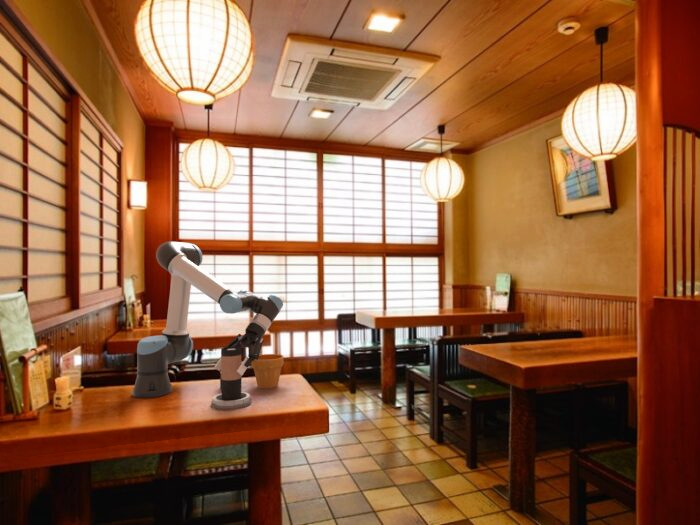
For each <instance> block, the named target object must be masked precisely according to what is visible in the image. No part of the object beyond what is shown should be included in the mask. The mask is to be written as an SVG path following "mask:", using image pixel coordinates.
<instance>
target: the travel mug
mask: <svg viewBox="0 0 700 525" xmlns="http://www.w3.org/2000/svg"><path fill="white" fill-rule="evenodd" d="M224 347H225V346H224ZM224 347H222V348H221V349H220V352H221V353H220V357H221V370H220V372H221V389H220V390H221V392H220V393H222V401H233V400H238V399H241V392H242V376H243V375H242V376H241V375H240V374H239V373H238V372H237V370H238V368H239V367H240V366H241V364H242V348H241V347H239V348H234V347H225V348H224Z"/></svg>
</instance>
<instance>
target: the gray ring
mask: <svg viewBox="0 0 700 525" xmlns="http://www.w3.org/2000/svg"><path fill="white" fill-rule="evenodd" d="M251 404H252V397H251V394H250V393H248V392H246V391H241V399H238V400H233V401H222V392H220V393H217V394H216V395H214V396H213V397H212V400H211V401H210V407H211V408H212V407H213V409H214V408H215V409H214V410H218V409H220V411H229V410H230V409H233V410H238V408H239V409H243V408H247V407H248V406H250V405H251ZM230 411H231V410H230Z"/></svg>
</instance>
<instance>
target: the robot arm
mask: <svg viewBox="0 0 700 525" xmlns="http://www.w3.org/2000/svg"><path fill="white" fill-rule="evenodd" d="M155 259H156V260H157V263H158V264H159V266H160V267H162V268H163V269H164V270H166V271H167V272H169V274H170V275H171V279H170V290H169V296H168V297H169V298H168V308H167V316H166V317H167V318H166V327H165V328H164V329H163V330H162V331H161V335H152V336H146V337H143V338H141V339H140V340H139V341H138V343H137V347H136V348H137V349H136V357H137V358H136V359H137V360H136V363H137V364H136V365H137V366H136V368H137V369H136V370H137V371H136V372H137V373H136V379H135V383H134V386H133V388H132V397H133V398H137V397H138V399H148V398H149V399H151V398H158V397H162V396H166V395H169V394H171V393H172V391H173V385H172V383H171V381H170V377H169V374H168V368H169V367H168V365H169V364H172V363H176V362H181V361H182V360H185V359H186V358H188V357H189V356H190V355H191V353H192V352H193V349H194V340H193V339H192V338H191V336H190V331H189V330H188V329H187V327H188V316H189V306H190V299H191V290H192V287H195V288H196V289H197V290H199V291H200V292H201V293H203V294H204V295H206V296H207V297H208V298H210V299H211V300H212V301H213V302H216V303H217V304H218V305H219V308H220V310H221V311H222V312H223V313H225V314H236V313H242V312H247V311H249V312H252V313H254V314H255V315H254V317H253V318H252V319H251V320H250V322H249V324H248V325H247V326H246V328H245V333H244V334H243V335H242V334H241V333H239V334H237V335H236V336H235V338H233V339H232V340H231V341H230V342H229V343H228V344H226V345H225V346H224V347H223V348H225V347H234V348H239V347H241V349H243V348H248V351H247V352H248V354H247V356H246V357H245V358H244V359H243V361H242V362H241V366H240V367H239V368H238V370H237V372H238V373H239V374H240V375H241V376H243V375H244V373H245V372H246V370H247V369H248V368H249V367H250V365H251V362H252V361H254V360H255V359H256V360H258V359H259V355H261V351H262V346H263V343H264V341H265V339H264V338H263V337H264V335H265V334H266V332H267V331H268V329H269V328H270V327H271V325H272V324H273V322H274V321H275V319H276V317H277V316H278V315H279V314H280V312H281V310H282V308H283V306H284V301H283V300H282V298H280V297H279V296H278V295H276V294H270V295H268V296H267V297H265V296H262V295H259V294H257V293H253V292H252V291H250V290H246V289H241V290H239V291H238V292H235V291H234V290H233V289H231V288H230V287H228V286H227V285H225V284H224V283H222V282H221V281H219V279H217V278H215V277H214V276H213V275H211V274H209V273H208V272H207V271H205V270H204V269H202V268H201V267H200V266H201V264H202V262H203V252H202V250H201V249H200V247H198V246H197V245H196V244H194V243H190V242H182V241H181V242H180V241H172V240H171V241H165V242H163V243H162V244H160V245H159V246H158V248H157V249H156V252H155ZM213 367H214V369H216V370H217V371H219V372H221V356H220V358H219V360H218V361H217V362H216V364H215V365H214V366H213ZM150 397H151V398H150Z"/></svg>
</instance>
